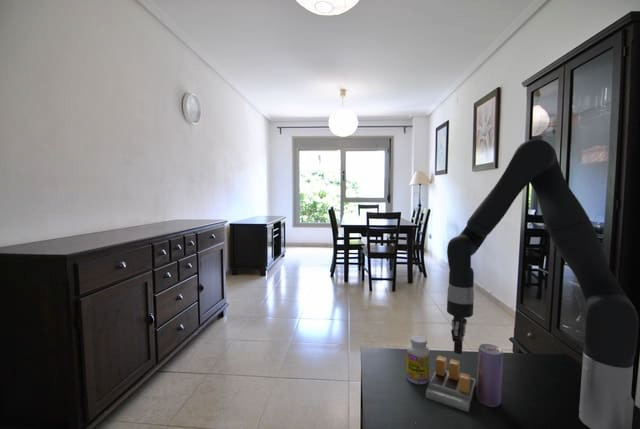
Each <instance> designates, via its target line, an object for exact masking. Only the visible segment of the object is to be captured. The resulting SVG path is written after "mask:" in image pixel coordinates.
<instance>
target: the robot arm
mask: <svg viewBox="0 0 640 429" xmlns="http://www.w3.org/2000/svg"><path fill="white" fill-rule="evenodd" d="M502 173H503V174H502V175H501V177H500V178H499V180H498V181H497V183H496V184H495V185H494V186H493V188H492V189H491V190H490V192H489V193H488V194H487V196H486V197H485V198H484V199H483V201H482V202H481V203H480V204H479V205H478V207H477V208H476V209H475V210H474V212H473V213H472V215H470V217H469V218H468V220H467V222H466V226H465V227H464V228H463V230H462V231H461V233H460V234H459V235H457V236H454V237H452V238H451V239H450V240H449V242H448V244H447V247H446V248H447V250H446V254H447V255H446V256H447V263H448V268H449V272H448V287H447V297H446V298H447V300H446V301H447V302H446V312H447V314H449V315H451V316H453V317H452V319H451V326H452V329H451V330H450V332H451V338H452V339H451V340H452V342H453V352H454V354H458V355H461V354H462V353H463V342H464V339H465V338H464V337H465V334H466V330H467V329H466V328H467V324H468V320H467V318H471V317H472V316H474V300H475V298H474V296H475V292H474V279H475V278H474V277H475V276H474V275H475V272H474V269H473V267H472V256H473V255H475V254H476V253H477V251H478V250H479V249H480V248H481V246H482V245H483V243H484V242H485V240H486V238H487V237H488V235H490V234H491V233H492V232H493V230H494V229H495V228H496V226H497V225H498V224H499V223H500V222H501V220H502V219H503V218H504V216H505V215H506V214H507V213H508V211H509V209H510V207H511V206H512V204H514V202H515V200H516V198H518V196H519V195H520V194H521V192H522V191H523V190H524V189H525V188H526V187H527V186H528V185H529V184H530V186H531V187H532V189H533V190H534V193H535V195H536V197H537V199H538V204H539V208H540V212H541V216H542V219H543V222H544V225H545V228H546V230H547V232H548V235H549V237H550V239H551V240H552V242H553V244H554V247H555V248H556V250H557V252H558V253H559V254H560V256H561V257H562V259H563V261H564V262H565V264H566V265H567V266H568V267H569V269H570V270H571V271H572V273H573V274H574V276H575V278H576V280H577V282H578V285H579V288H580V290H581V293H582V296H583V299H584V303H585V308H586V309H585V310H586V312H585V313H586V314H585V324H584V325H585V326H584V338H583V339H584V340H583V350H582V366H581V378H580V379H581V380H580V381H581V382H580V383H581V384H580V396H579V407H578V418H579V420H580V421H581V422H582V424H584V425H585V426H587V427H588V428H589V429H632V426H633V413H634V412H633V411H634V403H635V402H634V399H633V396H632V388H633V387H632V385H633V373H634V370H633V369H634V362H635V357H636V355H637V347H638V346H637V345H638V339H639V338H638V337H639V325H640V320H639V315H638V311H637V310H636V308H635V307H636V306H634V304H633V302H632V300H630V298H629V297H628V296H627V294H626V293H625V291H624V290H623V289H622V287H621V285H620V284H619V282H618V280H617V279H616V276H614V274H613V272H612V270H611V268H610V267H609V263H608V260H607V257H606V254H605V251H604V248H603V245H602V242H601V240H600V238H599V235H598V233H597V231H596V229H595V227H594V225H593V223H592V220H591V219H590V217H589V215H588V213H587V211H586V210H585V209H584V207H583V206H582V204H581V202H580V201H579V199H578V197H576V195H575V194H574V192H573V191H572V189H571V188H570V186H569V185H568V183H567V181H566V179H565V176H564V174H563V171H562V168H561V165H560V162H559V159H558V155H557V152H556V150H555V149H554V147H553V145H552V144H551V143H549V142H548V141H546V140H544V139H539V138H533V139H529V140H526V141H524V142H522V143H521V144H520V145H518V146H517V148H516V150H515V152H514V154H513V156H511V159H510V160H509V163H508V165H507V167H506V169H505V170H504V172H502Z"/></svg>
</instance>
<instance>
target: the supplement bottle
mask: <svg viewBox="0 0 640 429" xmlns="http://www.w3.org/2000/svg"><path fill="white" fill-rule="evenodd" d="M410 337H411V338H410V344H408V345H407V347H406V349H407V350H406V368H405V369H406V370H405V371H406V373H405V375H406V378H407V380H408V381H409V382H410V383H413V384H416V385H425V384H427V383H429V382H428V381H429V380H430V379H429V378H430V376H429V375H430V354H431V352H430V348H429V347H428V346H427V344H428V339H427V338H426V337H424V336H422V335H412V336H410Z"/></svg>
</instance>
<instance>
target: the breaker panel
mask: <svg viewBox="0 0 640 429" xmlns="http://www.w3.org/2000/svg"><path fill="white" fill-rule="evenodd" d="M460 374H461V373H459V377H460ZM475 386H476V378H474V377H471V379H470V393H469V394H466V393H463V392H460V391H459V378H458V380H454V379H451V378H449V370H446V373H445V376H441V375H437V374H436V370H435V371H434V373H433V375H432V378H431V380H430V381H429V382H428V386H427V387H426V390H425V399H428V400H431V401H434V402H437V403H440V404H442V405H443V404H444V405H446V406H449V407H451V408H454V409H458V410H461V411H464V412H468V413H469V411H470V408H471V404H472V399H473V395H474V392H475Z"/></svg>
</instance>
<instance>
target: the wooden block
mask: <svg viewBox="0 0 640 429" xmlns="http://www.w3.org/2000/svg"><path fill="white" fill-rule="evenodd" d="M435 371H436V374H437V375H441V376H445V373H446V371H447V357H445V356H441V355H437V357H436V359H435Z"/></svg>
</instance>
